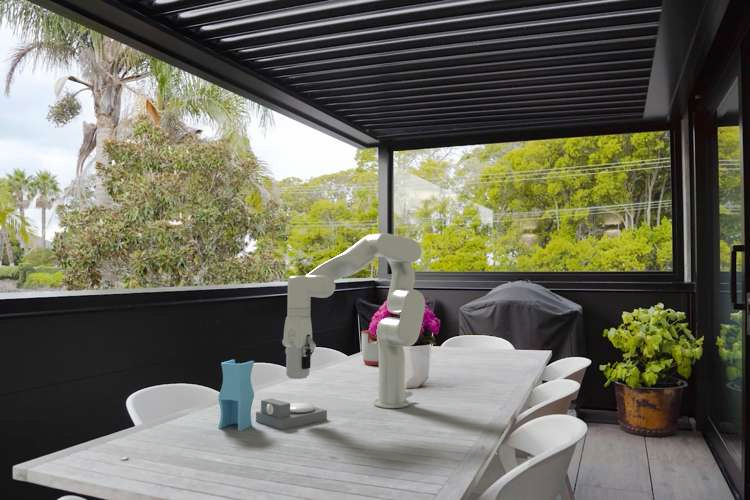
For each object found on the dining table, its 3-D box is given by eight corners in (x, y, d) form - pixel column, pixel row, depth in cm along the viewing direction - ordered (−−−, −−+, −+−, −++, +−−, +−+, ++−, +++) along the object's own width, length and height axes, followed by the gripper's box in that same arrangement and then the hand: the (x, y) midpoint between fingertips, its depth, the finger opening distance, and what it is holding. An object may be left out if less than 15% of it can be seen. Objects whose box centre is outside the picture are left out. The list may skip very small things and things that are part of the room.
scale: (300, 412, 208) (300, 391, 208) (326, 419, 198) (327, 398, 198) (255, 421, 195) (256, 399, 195) (282, 429, 185) (282, 406, 186)
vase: (253, 424, 191) (254, 360, 192) (240, 430, 184) (241, 364, 184) (232, 422, 194) (232, 359, 194) (218, 428, 186) (218, 363, 187)
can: (305, 379, 194) (305, 342, 195) (282, 378, 196) (283, 341, 196) (312, 375, 202) (312, 339, 202) (290, 374, 203) (291, 338, 204)
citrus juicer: (357, 366, 306) (357, 326, 306) (363, 361, 323) (364, 323, 323) (388, 367, 303) (388, 327, 304) (392, 362, 320) (393, 324, 321)
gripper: (273, 312, 203) (273, 365, 202) (306, 315, 191) (305, 371, 190) (291, 311, 208) (290, 362, 208) (324, 314, 196) (324, 369, 196)
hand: (298, 366), depth 199 cm, fingers closed on can, 7 cm apart
